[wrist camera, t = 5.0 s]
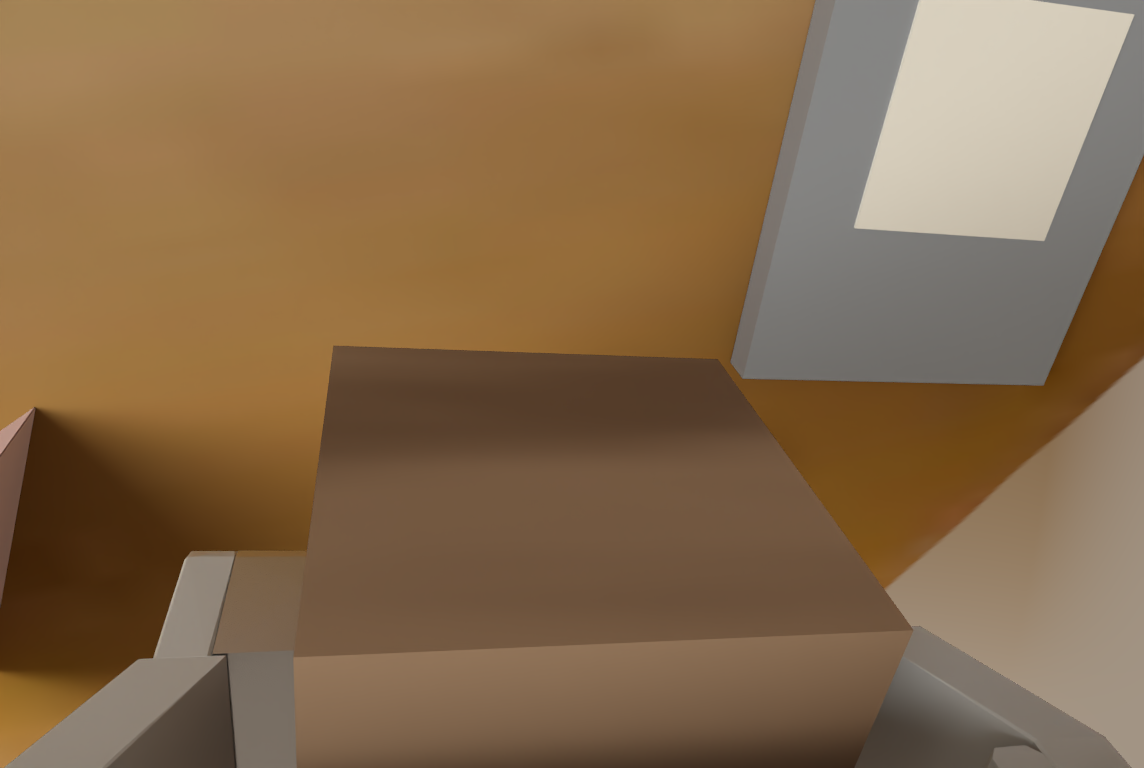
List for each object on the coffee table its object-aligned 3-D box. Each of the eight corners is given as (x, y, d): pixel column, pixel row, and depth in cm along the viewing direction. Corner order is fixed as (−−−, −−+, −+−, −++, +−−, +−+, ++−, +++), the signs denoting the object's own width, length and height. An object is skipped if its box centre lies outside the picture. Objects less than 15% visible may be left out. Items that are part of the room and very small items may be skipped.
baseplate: (879, -269, 21) (905, -279, 20) (1256, -189, 24) (1298, -194, 23) (730, 362, 30) (743, 380, 29) (1022, 370, 32) (1045, 386, 31)
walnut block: (333, 345, 10) (292, 658, 6) (717, 359, 11) (913, 630, 7) (333, 645, 13) (304, 1024, 8) (652, 632, 14) (771, 960, 9)
